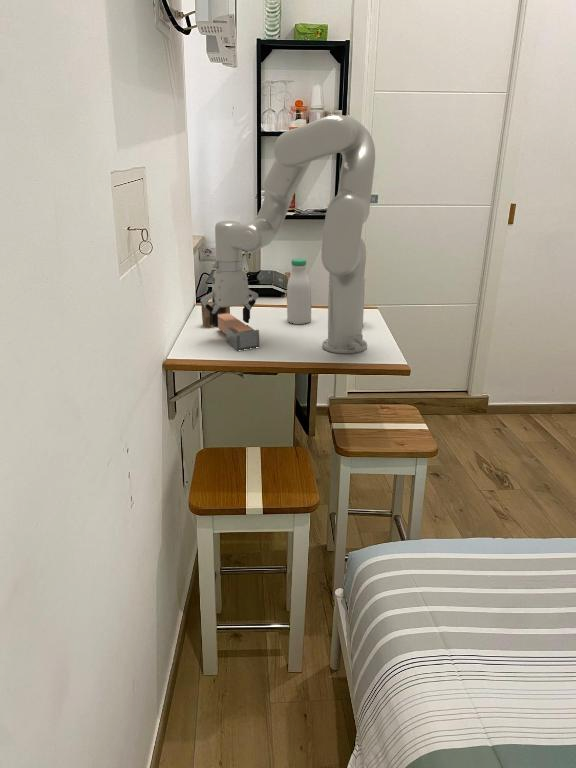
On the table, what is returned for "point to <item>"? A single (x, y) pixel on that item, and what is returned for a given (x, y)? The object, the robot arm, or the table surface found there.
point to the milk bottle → (298, 294)
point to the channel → (243, 339)
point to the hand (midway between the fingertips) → (230, 323)
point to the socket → (207, 314)
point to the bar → (231, 323)
